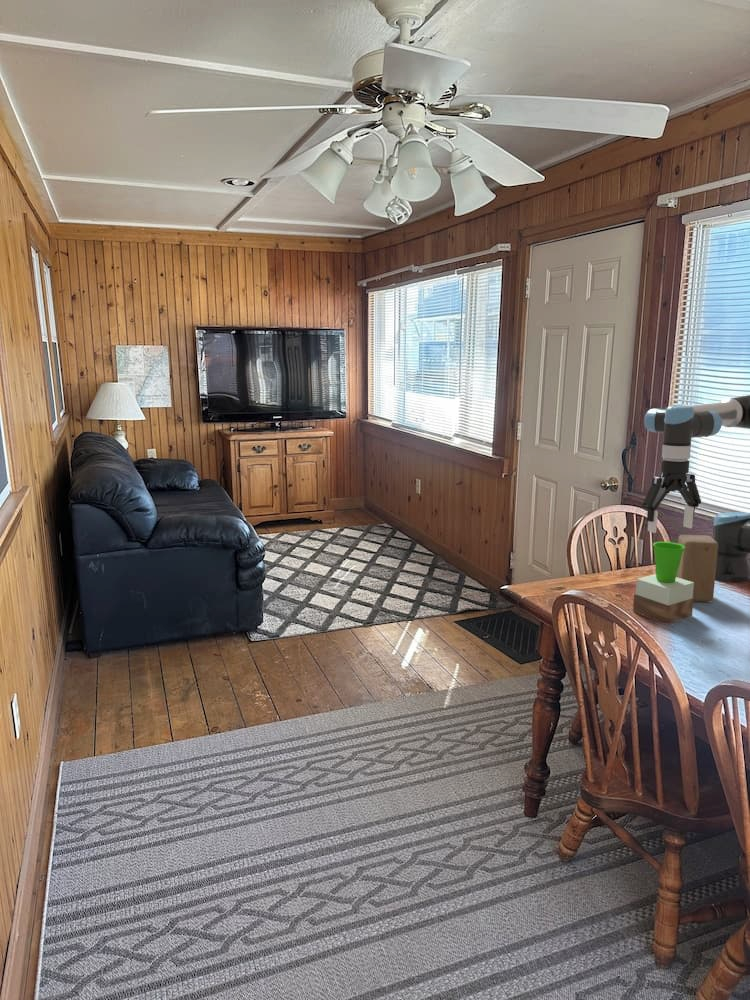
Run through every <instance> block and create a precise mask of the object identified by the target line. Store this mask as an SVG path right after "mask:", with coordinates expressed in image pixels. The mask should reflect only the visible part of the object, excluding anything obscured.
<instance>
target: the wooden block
mask: <svg viewBox="0 0 750 1000" xmlns="http://www.w3.org/2000/svg"><path fill="white" fill-rule="evenodd" d="M677 541H678V542H677V543H678V544H681V545H683V546H685V549H684V550H683V554H682V557H681V561H680V565H679V568H678V572H677V575H676V577H677V578H681V579H684V580H687V581H691V582H694V589H693V598H694V600H693V602H701V601H702V603H703V602H706V603H711V602H713V600H714V592H715V586H716V585H715V583H716V579H715V574H716V564H717V553H718V543H717V542H716V541H715V540H714V539H713V536H711V535H706V534H705V535H704V534H680V535H678V539H677Z"/></svg>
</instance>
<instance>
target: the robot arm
mask: <svg viewBox="0 0 750 1000" xmlns="http://www.w3.org/2000/svg"><path fill="white" fill-rule="evenodd" d="M643 422H644V427H645V429H646V430H647V431H649V432H651V433H656V434H658V433H659V434H663V441H662V452H661V458H662V459H661V463H660V471H661V473H662V475H661V477H658V476H656V475H655V476H653V477H652V482H651V484H650V487H649V490H648V492H647V494H646V496H645V498H644V500H643V503H642V504H641V508H642V509H644V510H647V513H646V520H647V532H650V533H653V534H657V529H658V528H657V527H658V526H657V525H658V514H659V511H658V510H657V509H658V508H659V506H660V504H661V503H662V502H663V500H664V499H665V497H666V496H667V495H668V494H669V493H670V492H675V491H678V492H679V493H680V495H681V497H682V498H683V500H684V501H685V503H686V505H684V512H683V513H684V515H683V522H682V523H683V525H682V526H683V528H688V529H692V528H693V523H694V522H693V519H694V516H695V514H696V513H695V510H696V509H695V508H697V507H699V505H701V504H702V499H701V496H700V492H699V490H698V486H697V482H696V475H695V474H693V473H689V470H690V461H689V459H690V458H691V447H692V439H693V438H704V437H705V438H708V437H711V436H715V435H716V434H718V433H719V432H720V431H721V429H722V426H723V427H725V428H733V427H734V428H743V429H748V430H749V429H750V394H748V395H742V396H737V397H731V398H725V399H723V400H721V401H720V402H715V403H714V402H713V403H705V404H698V405H670V406H667V408H660V407H657V408H651V409H649V410H648V411H646V414H645V415H644V421H643ZM712 527H713V528H712V529H713V530H712V538H713V539H714V540H715V541H716V542H717V543H718V553H717V564H716V574H715V581H721V582H727V583H728V582H729V583H744V582H745V583H746V582H749V581H750V562H749V554H750V512H743V511H742V512H741V511H736V512H735V511H733V512H732V511H731V512H721V513H717V514H716V515H715V516H714V520H713V525H712Z"/></svg>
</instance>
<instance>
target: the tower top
mask: <svg viewBox="0 0 750 1000" xmlns="http://www.w3.org/2000/svg"><path fill="white" fill-rule="evenodd" d="M635 581H636V583H635V594H636V595H639V596H642V597H645V598H648V599H651V600H654V601H656V602H659V603H662V604H665V605H668V606H669V605H672V604H675V603H679V602H682V601H685V600H688V599H692V598H693V589H694V582H691V581H687V580H684V579H681V578H677V577H676V579H675V581H674V582H673V583H664V582H660V581H658V580H657V578H656V573H654V574H651V575H646V576H642V577H639V578H636V580H635Z"/></svg>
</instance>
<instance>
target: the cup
mask: <svg viewBox="0 0 750 1000" xmlns="http://www.w3.org/2000/svg"><path fill="white" fill-rule="evenodd" d="M652 546H653V552H654V564H655V565H654V567H655V574H656V578H657V580H658V581H660V582H664V583H673V582H674V581H675V579H676V575H677V572H678V568H679V565H680V561H681V557H682V554H683V550H684V549H685V546H683V545H681V544H678V542H672V541H656V542H653V543H652Z"/></svg>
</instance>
